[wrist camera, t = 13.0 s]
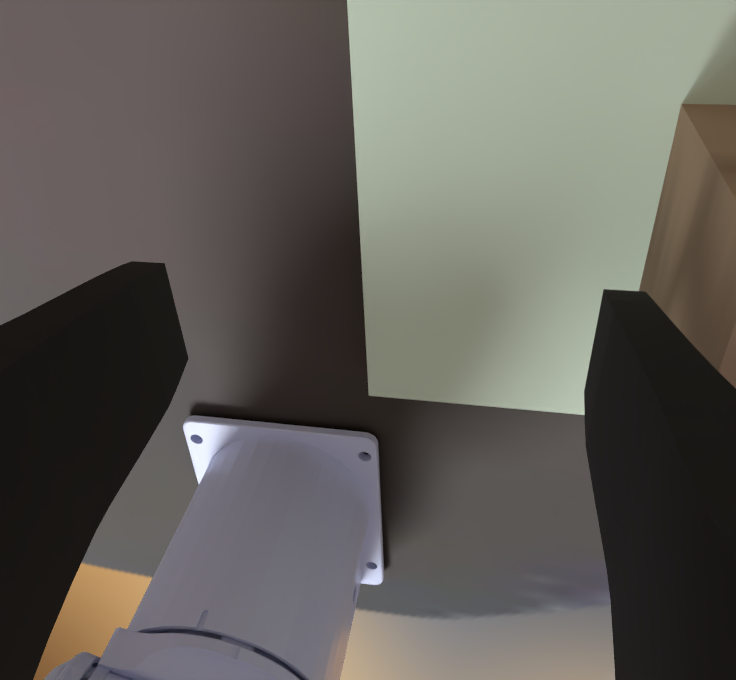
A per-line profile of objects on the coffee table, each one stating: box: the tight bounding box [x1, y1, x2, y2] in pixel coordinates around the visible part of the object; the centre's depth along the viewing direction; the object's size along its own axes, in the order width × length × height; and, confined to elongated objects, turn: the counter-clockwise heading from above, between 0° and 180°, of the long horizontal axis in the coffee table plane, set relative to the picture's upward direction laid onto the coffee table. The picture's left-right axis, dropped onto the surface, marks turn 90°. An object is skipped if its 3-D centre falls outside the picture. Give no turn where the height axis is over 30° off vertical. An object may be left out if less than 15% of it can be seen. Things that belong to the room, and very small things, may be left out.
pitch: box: [347, 0, 736, 415], centre depth 15 cm, size 24×17×4 cm
